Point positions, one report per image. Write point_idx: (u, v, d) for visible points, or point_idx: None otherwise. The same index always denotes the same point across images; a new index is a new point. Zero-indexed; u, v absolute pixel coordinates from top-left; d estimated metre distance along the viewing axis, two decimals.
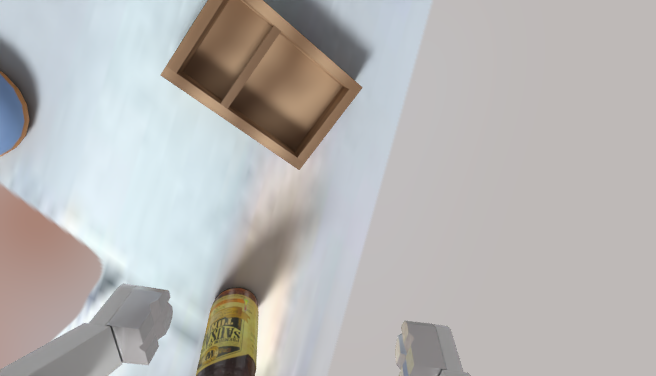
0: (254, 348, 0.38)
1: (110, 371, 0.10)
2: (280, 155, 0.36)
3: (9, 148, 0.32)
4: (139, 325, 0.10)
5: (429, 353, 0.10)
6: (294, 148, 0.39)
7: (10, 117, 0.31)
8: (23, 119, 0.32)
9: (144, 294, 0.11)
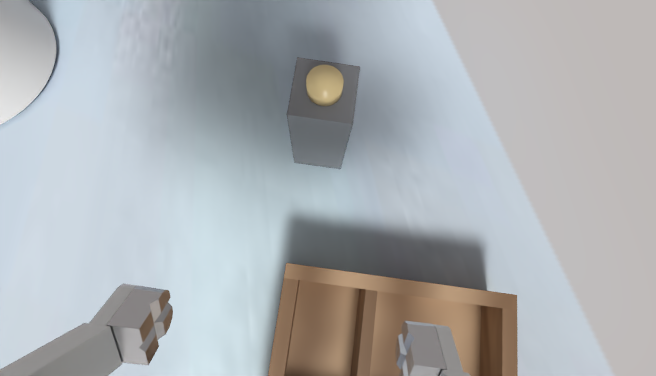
0: None
1: (110, 371, 0.10)
2: None
3: None
4: (139, 325, 0.10)
5: (429, 352, 0.10)
6: None
7: None
8: None
9: (145, 294, 0.11)
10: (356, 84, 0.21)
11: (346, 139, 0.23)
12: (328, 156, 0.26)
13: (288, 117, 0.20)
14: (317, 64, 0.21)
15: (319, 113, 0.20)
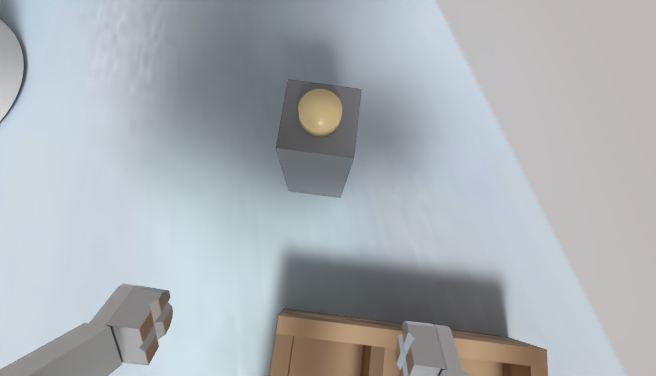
0: None
1: (110, 371, 0.10)
2: None
3: None
4: (139, 325, 0.10)
5: (429, 353, 0.10)
6: None
7: None
8: None
9: (145, 294, 0.11)
10: (357, 110, 0.18)
11: (346, 172, 0.19)
12: (326, 186, 0.23)
13: (278, 150, 0.17)
14: (311, 87, 0.18)
15: (314, 146, 0.17)
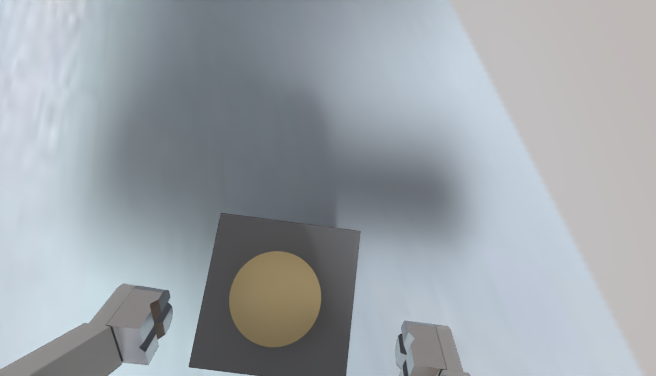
0: None
1: (110, 371, 0.10)
2: None
3: None
4: (139, 325, 0.10)
5: (429, 353, 0.10)
6: None
7: None
8: None
9: (144, 294, 0.11)
10: (352, 277, 0.09)
11: None
12: None
13: None
14: (265, 229, 0.09)
15: (266, 359, 0.09)
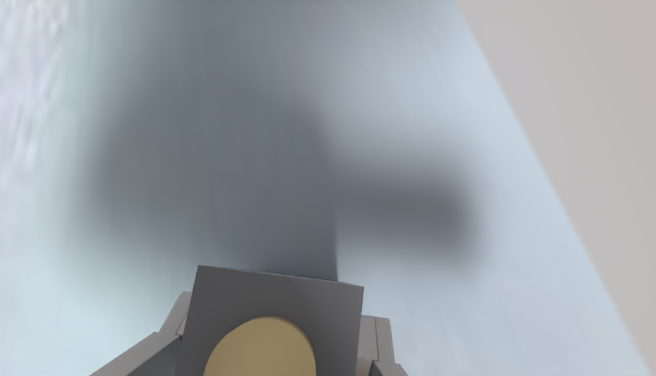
0: None
1: None
2: None
3: None
4: None
5: (362, 344, 0.10)
6: None
7: None
8: None
9: None
10: (355, 345, 0.08)
11: None
12: None
13: None
14: (251, 285, 0.08)
15: None
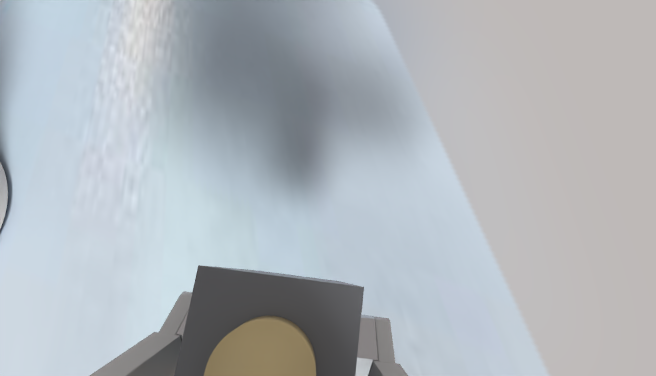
0: None
1: None
2: None
3: None
4: None
5: (363, 344, 0.10)
6: None
7: None
8: None
9: None
10: (355, 345, 0.08)
11: None
12: None
13: None
14: (251, 285, 0.08)
15: None
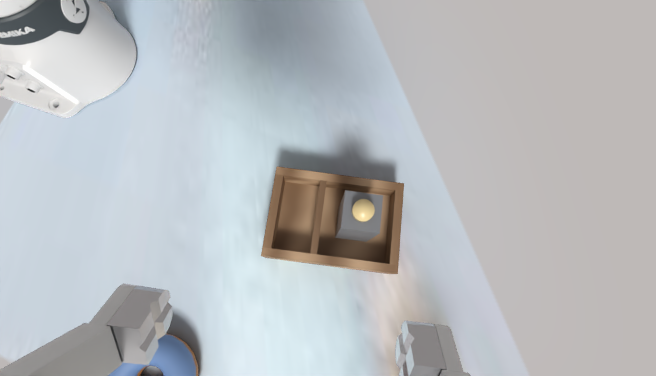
0: None
1: (110, 371, 0.10)
2: (375, 269, 0.39)
3: None
4: (139, 325, 0.10)
5: (429, 353, 0.10)
6: (383, 262, 0.42)
7: (187, 366, 0.36)
8: (194, 365, 0.37)
9: (144, 294, 0.11)
10: (381, 207, 0.35)
11: (374, 235, 0.36)
12: (359, 238, 0.40)
13: (341, 228, 0.34)
14: (357, 194, 0.35)
15: (359, 226, 0.34)
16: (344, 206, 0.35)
